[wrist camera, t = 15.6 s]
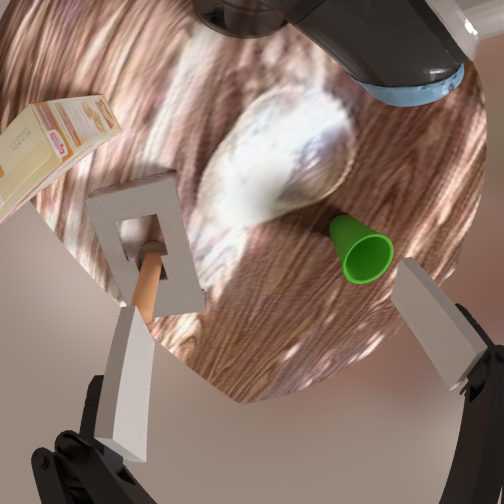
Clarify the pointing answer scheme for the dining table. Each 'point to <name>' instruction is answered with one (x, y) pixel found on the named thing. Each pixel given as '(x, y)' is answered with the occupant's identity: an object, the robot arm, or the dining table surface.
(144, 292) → the headed peg
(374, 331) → the dining table surface
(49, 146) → the coffeecake box
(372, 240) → the cup
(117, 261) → the keyhole plate
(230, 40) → the dining table surface
